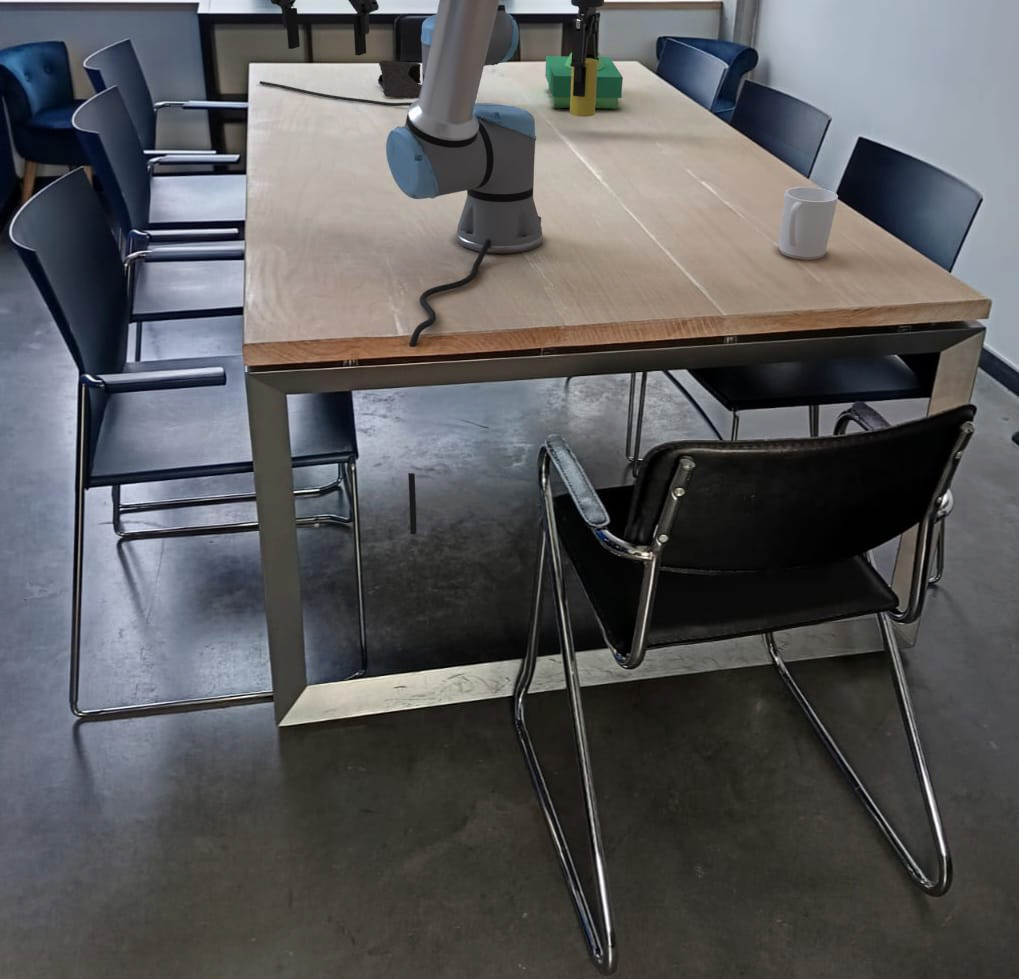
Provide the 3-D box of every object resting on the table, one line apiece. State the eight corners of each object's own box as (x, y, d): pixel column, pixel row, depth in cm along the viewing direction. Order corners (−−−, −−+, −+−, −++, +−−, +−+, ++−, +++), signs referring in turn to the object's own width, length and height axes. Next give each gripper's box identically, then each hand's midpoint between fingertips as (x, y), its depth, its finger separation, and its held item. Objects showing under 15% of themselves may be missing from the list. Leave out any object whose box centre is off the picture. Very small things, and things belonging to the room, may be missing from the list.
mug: (790, 240, 199) (799, 183, 193) (836, 251, 194) (846, 193, 188) (761, 255, 191) (769, 197, 186) (808, 267, 186) (818, 208, 181)
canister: (595, 111, 264) (598, 58, 258) (594, 117, 259) (597, 63, 253) (570, 110, 264) (572, 57, 258) (569, 116, 259) (571, 62, 253)
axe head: (443, 87, 294) (392, 77, 287) (436, 115, 299) (385, 106, 292) (421, 62, 307) (371, 52, 300) (414, 89, 311) (365, 80, 304)
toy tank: (607, 38, 308) (624, 61, 278) (604, 83, 314) (620, 111, 284) (544, 36, 307) (554, 60, 277) (542, 82, 313) (552, 110, 283)
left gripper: (591, -8, 238) (586, 102, 250) (616, -17, 254) (609, 87, 266) (559, -10, 241) (555, 99, 253) (585, -19, 256) (580, 84, 268)
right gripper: (394, -80, 185) (398, 53, 196) (267, -87, 192) (278, 41, 203) (374, -77, 179) (379, 60, 190) (243, -85, 186) (255, 48, 197)
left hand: (583, 93), depth 259 cm, fingers closed on canister, 6 cm apart
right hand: (327, 51), depth 197 cm, fingers open, 13 cm apart
